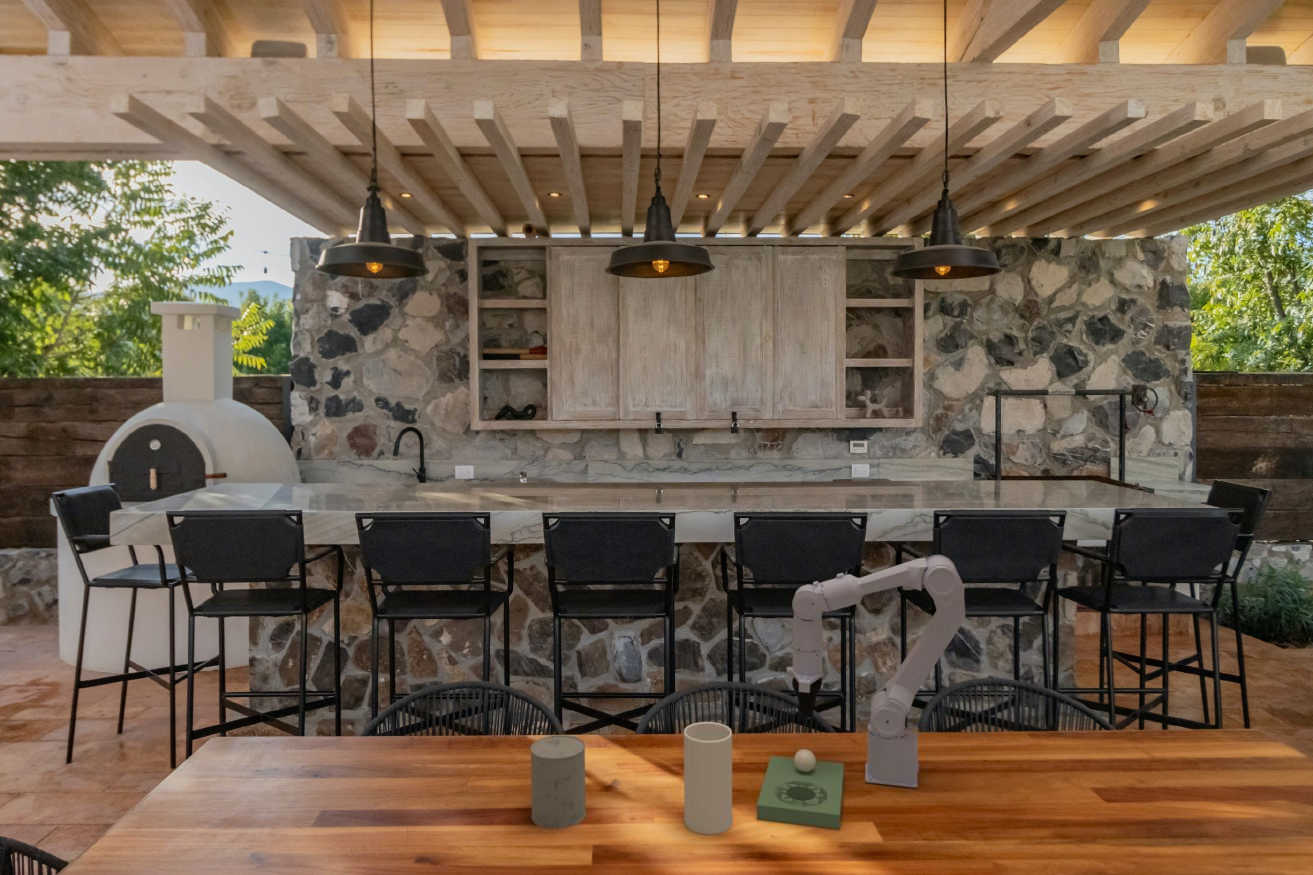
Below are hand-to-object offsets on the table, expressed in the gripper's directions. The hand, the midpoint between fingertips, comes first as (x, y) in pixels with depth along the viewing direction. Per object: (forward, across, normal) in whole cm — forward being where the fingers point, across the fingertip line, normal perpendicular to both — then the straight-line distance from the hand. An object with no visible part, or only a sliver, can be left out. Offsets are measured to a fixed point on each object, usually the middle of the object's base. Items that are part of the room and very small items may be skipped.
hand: (806, 715), depth 161 cm
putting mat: (+10, +12, 0) cm, 16 cm away
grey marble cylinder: (+11, +29, -41) cm, 51 cm away
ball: (+6, +7, 0) cm, 9 cm away
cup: (+11, +25, -15) cm, 31 cm away
